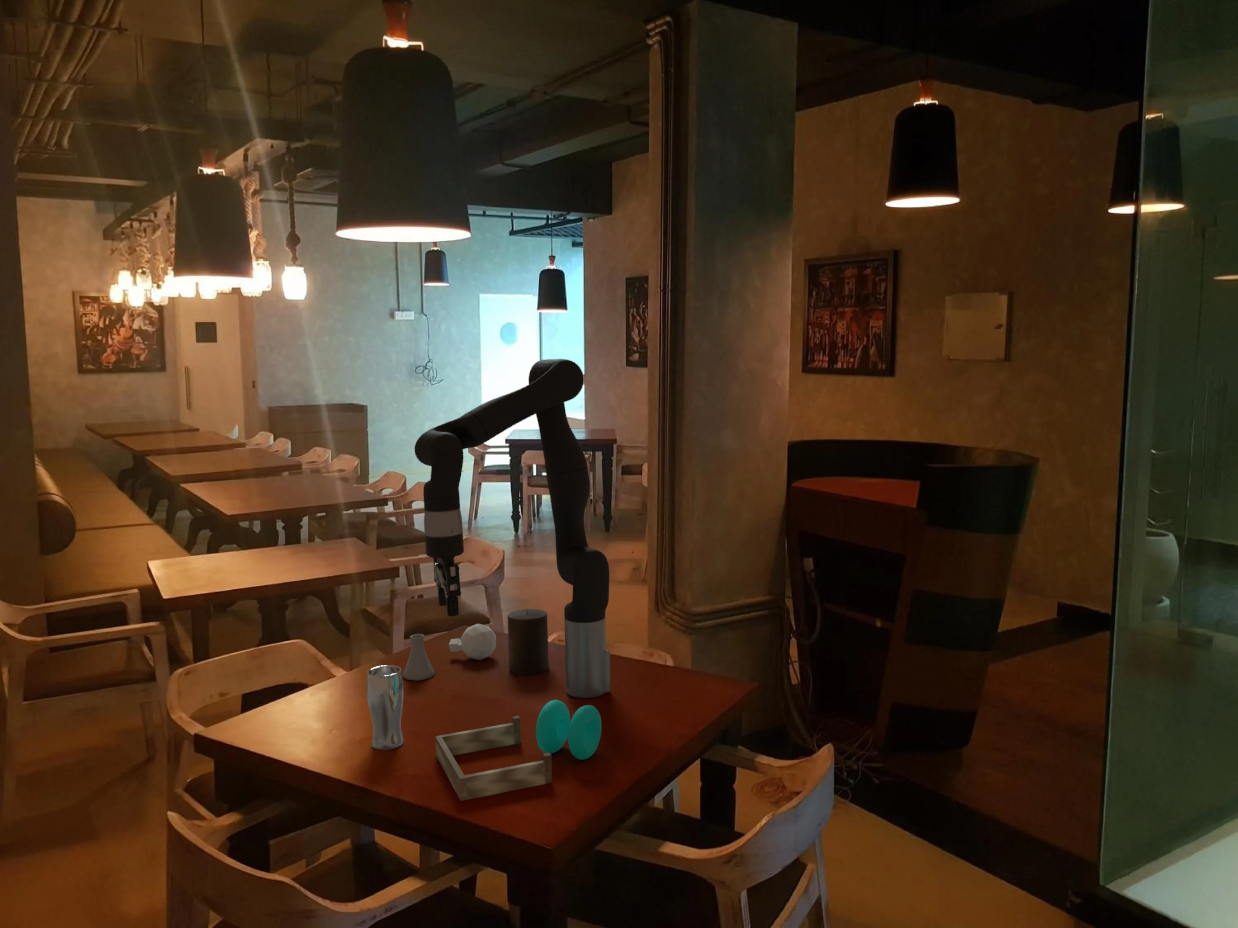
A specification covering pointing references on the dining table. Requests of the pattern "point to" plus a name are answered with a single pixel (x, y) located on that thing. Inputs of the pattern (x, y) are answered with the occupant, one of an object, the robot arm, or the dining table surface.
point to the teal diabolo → (568, 729)
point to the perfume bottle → (475, 642)
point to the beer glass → (385, 705)
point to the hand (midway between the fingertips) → (448, 610)
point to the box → (492, 779)
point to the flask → (418, 661)
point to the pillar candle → (528, 641)
